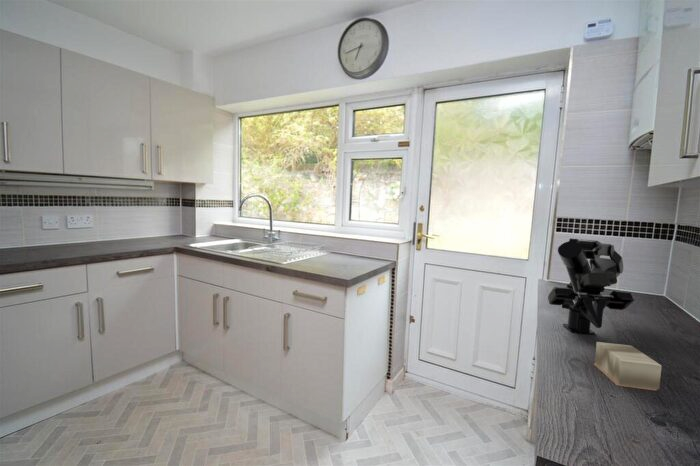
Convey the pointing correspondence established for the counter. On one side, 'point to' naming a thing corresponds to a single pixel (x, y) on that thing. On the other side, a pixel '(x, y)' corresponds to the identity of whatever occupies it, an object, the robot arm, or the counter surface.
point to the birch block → (628, 365)
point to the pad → (617, 382)
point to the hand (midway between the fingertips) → (599, 327)
